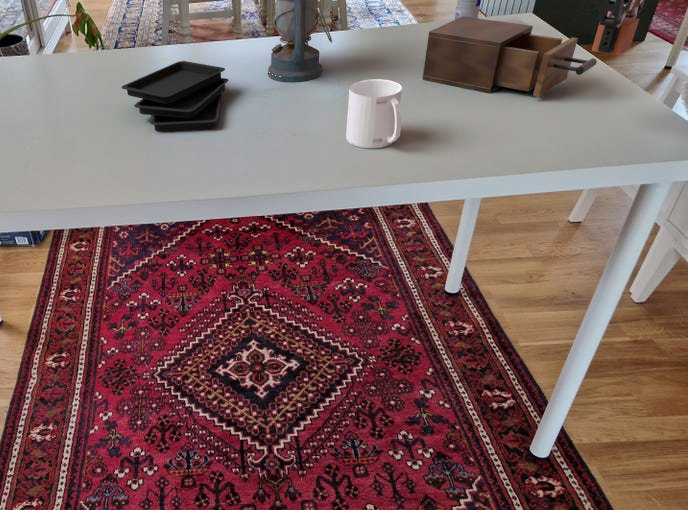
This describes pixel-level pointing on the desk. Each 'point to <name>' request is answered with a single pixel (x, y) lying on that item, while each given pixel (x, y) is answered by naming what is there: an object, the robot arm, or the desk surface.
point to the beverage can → (467, 8)
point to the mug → (374, 113)
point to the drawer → (538, 63)
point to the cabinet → (469, 52)
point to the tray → (180, 96)
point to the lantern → (296, 41)
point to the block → (619, 36)
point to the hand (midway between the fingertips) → (611, 47)
